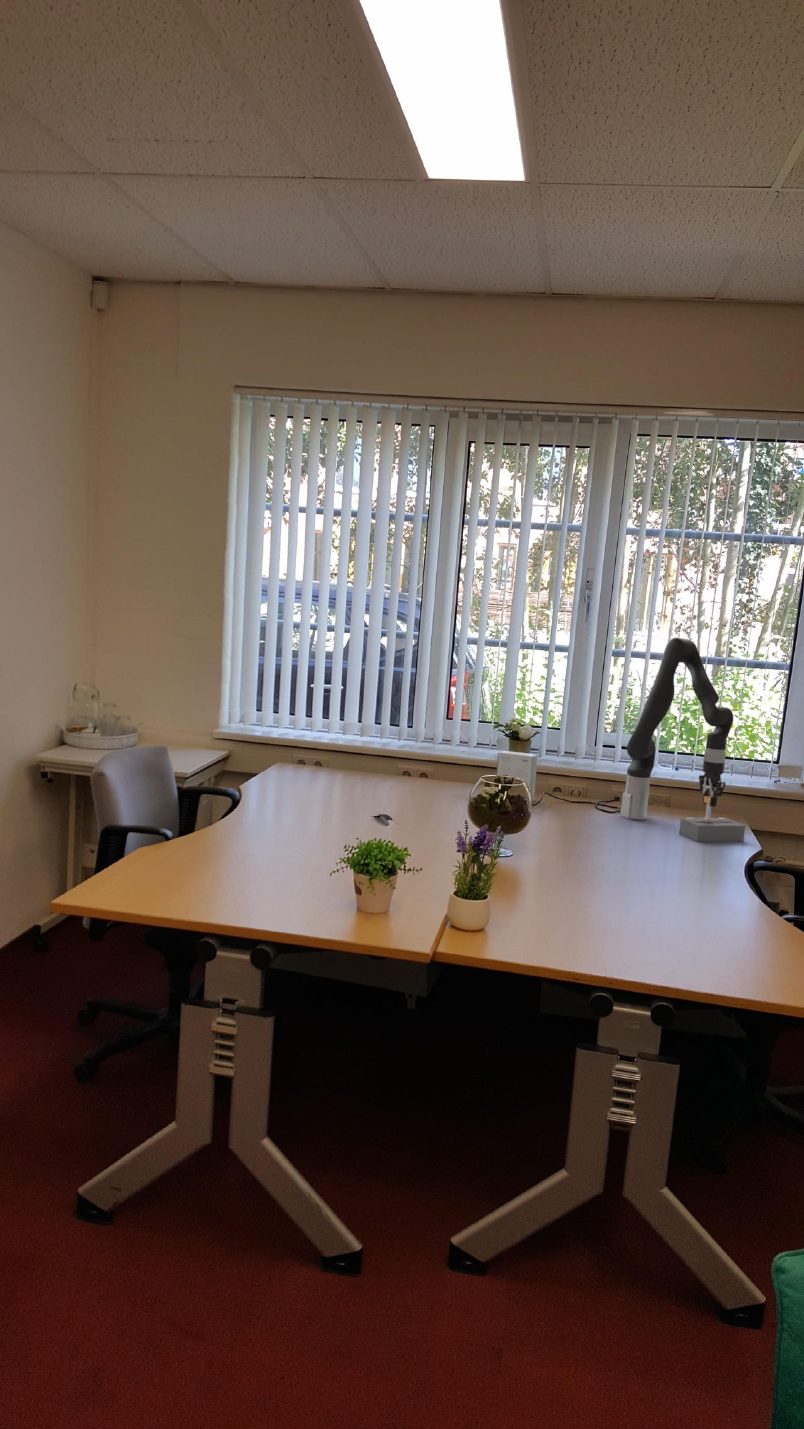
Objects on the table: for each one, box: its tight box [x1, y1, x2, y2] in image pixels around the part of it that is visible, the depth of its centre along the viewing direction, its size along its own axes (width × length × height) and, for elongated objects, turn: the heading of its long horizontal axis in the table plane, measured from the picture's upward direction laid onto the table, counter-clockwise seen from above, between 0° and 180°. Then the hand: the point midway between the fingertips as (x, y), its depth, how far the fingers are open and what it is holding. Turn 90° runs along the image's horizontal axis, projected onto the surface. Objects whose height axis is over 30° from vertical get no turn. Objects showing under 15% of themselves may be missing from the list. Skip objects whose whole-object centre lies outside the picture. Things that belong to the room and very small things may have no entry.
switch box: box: [678, 817, 746, 843], centre depth 365 cm, size 20×12×6 cm, turn 106°
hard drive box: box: [496, 750, 538, 802], centre depth 407 cm, size 16×8×20 cm, turn 65°
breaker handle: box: [701, 795, 713, 822], centre depth 364 cm, size 3×4×9 cm
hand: (709, 804), depth 363 cm, fingers closed on breaker handle, 4 cm apart
